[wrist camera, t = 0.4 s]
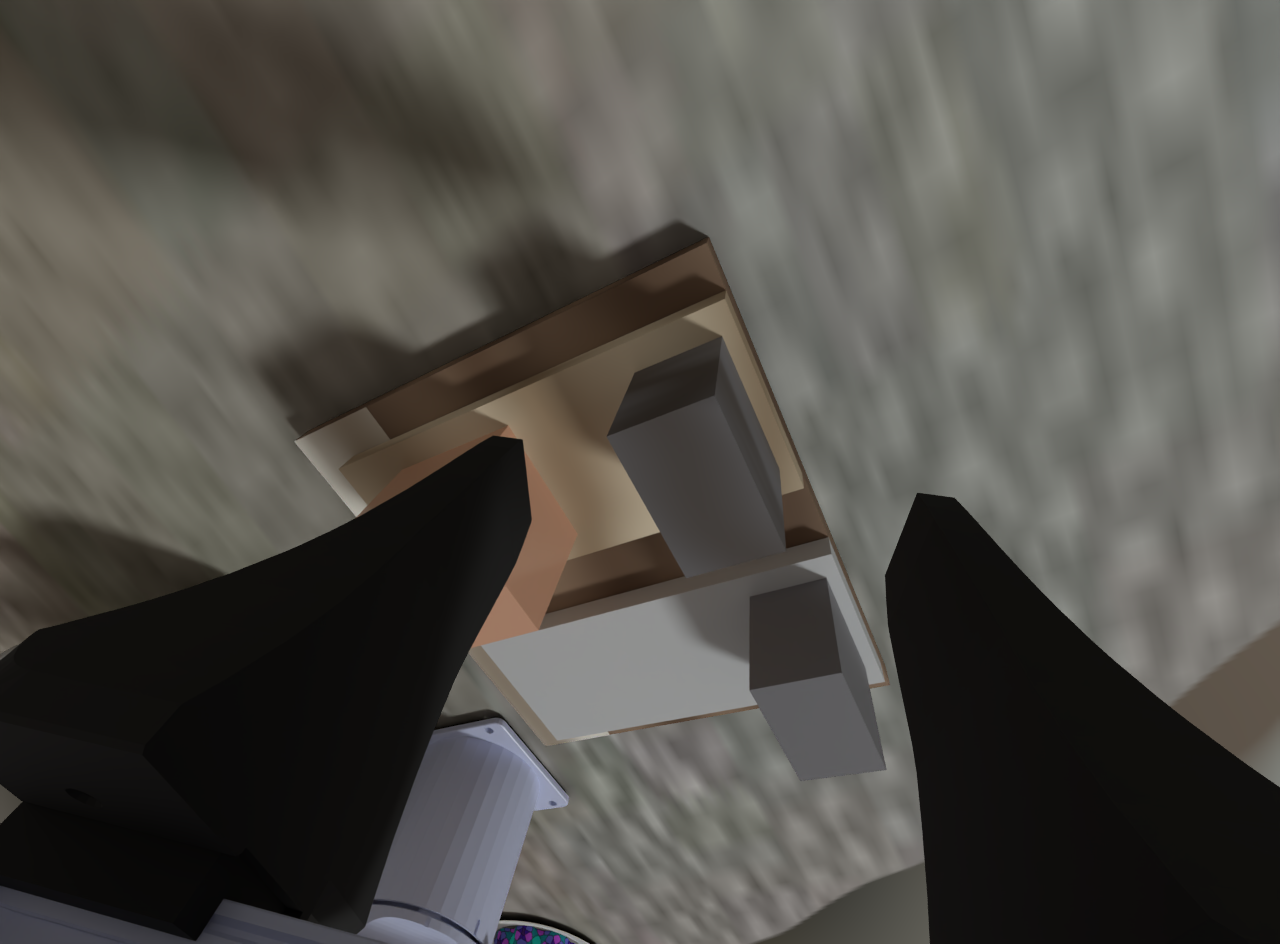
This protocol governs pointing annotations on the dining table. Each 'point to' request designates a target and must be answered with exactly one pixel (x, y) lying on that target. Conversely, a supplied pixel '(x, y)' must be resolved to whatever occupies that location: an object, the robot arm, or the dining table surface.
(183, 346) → the dining table surface
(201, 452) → the dining table surface
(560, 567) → the terracotta cube
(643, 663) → the grey strip
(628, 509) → the tan shallow tray
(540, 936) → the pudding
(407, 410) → the lane board
